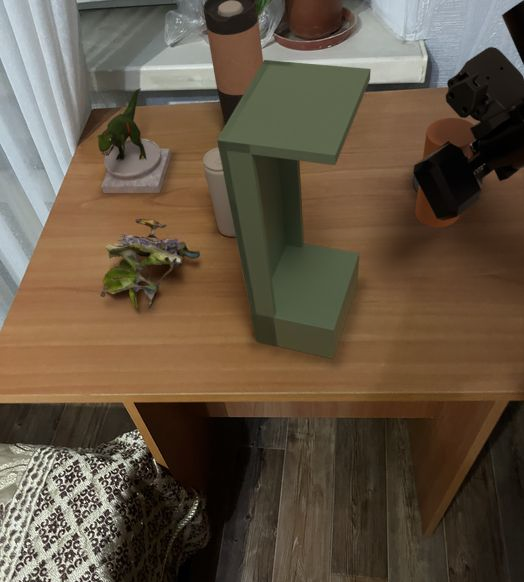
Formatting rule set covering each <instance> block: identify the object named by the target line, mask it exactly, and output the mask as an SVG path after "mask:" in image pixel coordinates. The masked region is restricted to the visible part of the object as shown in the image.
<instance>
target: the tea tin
mask: <svg viewBox="0 0 524 582" xmlns="http://www.w3.org/2000/svg"><path fill="white" fill-rule="evenodd" d="M474 125H475V124H473V123H472V122H470V121H468V120H465V119H464V118H460V117H446V118H441V119H438V120H435V121H434V122H431V124H430V125H428V127H427V128H426V132H425V139H424V146H423V152H422V153H423V154H422V159H424V158H425V157H426V156H428V155H429V154H430V153H432V152H434V151H435V150H437V149H438V148H439V147H441V146H442V145H443V144H445V143H446V142H448V141H449V142H450V143H452V144H454V145H456V146H458V147H460V148H461V149H462V151H463V153H464V155H465V156H467V157H468V159H470V158H471V157H472V156H473V152H472V151H471V149H470V147H469V145H470V143H472V142H473V141H474V140H476V139H475V138H474V136H473V134H472V132H471V130H470V128H471V127H472V126H474ZM414 214H415V216H416V218H417V219H418V221H420V223H422V224H424V225H426V226H427V227H433V228H445V227H449V226H450V225H453V224H454V223H455V222H457V221H458V220H459V217H460V215H458V216H457V217H455V218H451V219H448V220H444V221H443V220H439V219H437V218H436V216H435V214H434V212H433V210H432V208H431V206H430V204H429V202H428V200H427V199H426V197H425V195H424V193H423V191H422V189H421V187H420V185H419V188H418V193H417V197H416V204H415V213H414Z"/></svg>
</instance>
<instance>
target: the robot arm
mask: <svg viewBox="0 0 524 582" xmlns="http://www.w3.org/2000/svg"><path fill="white" fill-rule="evenodd" d="M501 17H502V19H503V22H504V24H505V27H506V28H507V31H508V33H509V35H510V37H511V40H512V42H513V44H514V47H515V49H516V51H517V53H518V56H519V58H520V60H521V63H522V65H523V66H524V0H522V1H520V2H519V3H517V4H515V5H514V6H513V7H511V8H510V9H508V10H507V11H505V12H504V13H502V14H501ZM446 84H447V87H448V88H447V92H446V94H445V102H446V103H447V104H448V105H449V107H450V108H451V110H453V112H455V113H456V114H457V115H458V117H459V118H460V119H466V118H468V117H469V116H470V117H471V118H472V120H475V121H477V123H475V124H473V125H474V126H472V127H471V128H470V130H471V132H472V134H473V136H474V138H475V139H476V140H474V141H473V142H472V143H470V145H469V147H470V149H471V151H472V152H473V156H472V157H471V158H470V159H468V157H467V156H465V155H464V153H463V151H462V149H461V148H460V147H458V146H456V145H454V144H452V143H450V142H449V141H448V142H446V143H445V144H443V145H442V146H441V147H439V148H438V149H437V150H435V151H434V152H432V153H430V154H429V155H428V156H426V157H425V158H424V159H423V158H422V159H421V160H419V161H418V162H417V163H415V164H414V165H413V171H412V173H413V177H414V176H415V178H416V179H417V181H418V183H419V185H420V187H421V189H422V191H423V193H424V195H425V197H426V199H427V200H428V202H429V204H430V206H431V208H432V210H433V212H434V214H435V216H436V218H437V219H439V220H443V221H444V220H448V219H451V218H455V217H457V216H458V215H459V216H460V215H461V214H462V213H464V212H465V211H466V210H468V209H469V208H470V207H471V206H472V205H474V204H475V203H476V202H478V201H479V199H480V196H481V192H482V187H483V185H484V180H483V179H484V178H485V177H487V176H488V175H489V174H491V173H493V171H494V172H495V174H496V178H497V179H498V181H499V182H502V181H506V180H508V179H509V178H511V177H512V176H513V175H514V174H516V173H517V172H518V171H520V170H521V169H524V75H523V73H521V71H520V70H519V69H518V68H517V67H516V66H515V64H513V63H512V62H511V60H510V59H509V58H507V56H506V55H505V54H504V53H503V52H502V51H501V50H500V49H498V48H497V47H495V46H488V47H487V48H485V49H484V50H482V51H480V52H479V53H477V54H475V55H474V56H473V57H472V58H470V59H469V60H467V61H466V62H465V63H464V65H463V66H462V68H461V69H460V70H459V71H458V73H456V74H455V75H453V76H452V77H451V78H449V79H448V80H447V82H446ZM474 174H475V175H474Z"/></svg>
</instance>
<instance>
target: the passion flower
mask: <svg viewBox="0 0 524 582" xmlns="http://www.w3.org/2000/svg"><path fill="white" fill-rule="evenodd" d="M135 223H136V224H138V225H143V226H147V227H149V228H150V233H149V235H147V236H138V235H137V236H136V235H131V234H129V235H126V234H121V238H119V239H118V240H117V242H119V243H120V244H118V243H116V242H115V243H113V244H111V243H107V245H105V250H106V251H107V252H108V258H109V259H113V258H117V257H118V258H120V257H122V259H120V260H119V263H118V265H116V264H114V265H113V266H111V267H110V268H109V270H108V271H107V272H106V273H104V276H103V279H102V285H103V286H102V289H101V291H100V293H99V295H100V297H102V298H105V297H106V292H107V293H109V294H111V295H116V294H119V293H121V292H123V291H127V290H129V297H130V301H131V304H132V306H133V307H134V308H135V309H136V310H140V308H139V303H138V299H137V298H138V297H137V295H138V292H139V291H140V290H143V292H144V295H145V296H146V297H147V298H148V305H147V309H150V308H151V306H152V302H153V299H154V296H155V295H156V293H157V291H159V289H160V284H161V283H162V282H163V281H164V280H165V278H167V276H168V275H169V274H170V273H171V272H172V271H173V270H174V268H177V267H178V266H181V265H183V263H184V258H183V257H187V258H189V259H191V260H197V259H198V258H200V256H201V253H200V250H190V249H189V248H188V247H187V245H186V243H185V241H179V239H178V238H176V239H169V238H163V239H159V238H158V237H157V236H156V230H157V229H158V228H160V229H164V228H166V227H167V226H168V224H167V223H161V222H159V221H157V220H155V219H154V218H153V219H151V218H150V219H147V218H137V219H135ZM178 241H179V242H178ZM121 244H122V245H121ZM138 257H141V258H145V259H143V260H141V262H139V261H138ZM162 265H165V266H167V267H169V266H170V267H169V269H168V270H167V271H166V272H165V273H164V274H163V276H162V277H161V278H160V279H159V280H158V281H157V282H153V281H152V276H151V269H150V266H162ZM146 268H147V269H148V270H147V271H148V278H145V277H144V276H143V275H142V273H141V272H142V271H143V270H144V269H146ZM140 282H144V283H146V284H148V285H139V284H138V283H140Z"/></svg>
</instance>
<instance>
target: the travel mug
mask: <svg viewBox="0 0 524 582" xmlns="http://www.w3.org/2000/svg"><path fill="white" fill-rule="evenodd" d="M257 3H258V2H257V0H205V2H204V3H203V14H204V15H203V16H204V21H205V26H206V32H207V39H208V43H209V44H208V45H209V50H210V56H211V63H212V69H213V73H214V79H215V86H216V91H217V96H218V99H219V104H220V110H221V114H222V119H223V123H224V126H225V125H226V123H227V122H228V120H229V118H230V117H231V115H232V113H233V112H234V110H235V108H236V107H237V105H238V103H239V102H240V100H241V98H242V97H243V95H244V93H245V91H246V90H247V88H248V86H249V85H250V83H251V81H252V80H253V78H254V76H255V75H256V73H257V71H258V70H259V68H260V66H261V64H262V63H263V61H264V57H263V49H262V48H263V46H262V40H261V31H260V30H261V29H260V21H259V12H258V4H257Z"/></svg>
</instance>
